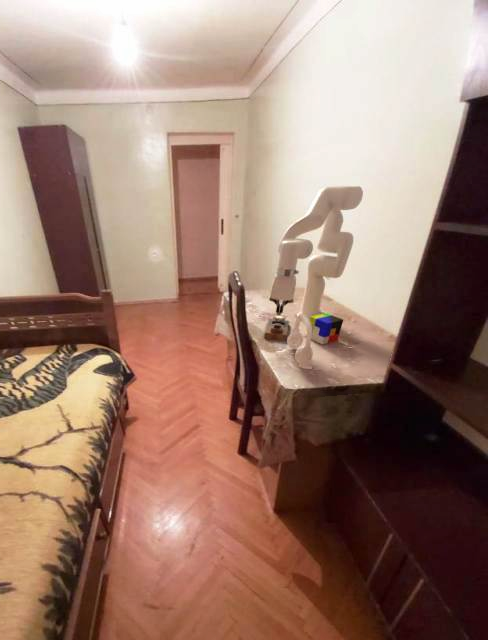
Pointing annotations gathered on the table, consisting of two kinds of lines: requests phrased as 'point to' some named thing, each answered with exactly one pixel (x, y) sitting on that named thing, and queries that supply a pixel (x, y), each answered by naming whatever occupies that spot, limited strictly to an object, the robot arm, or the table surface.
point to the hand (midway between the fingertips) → (278, 314)
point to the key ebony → (277, 325)
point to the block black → (283, 322)
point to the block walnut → (276, 332)
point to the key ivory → (279, 318)
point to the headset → (296, 340)
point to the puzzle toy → (325, 328)
